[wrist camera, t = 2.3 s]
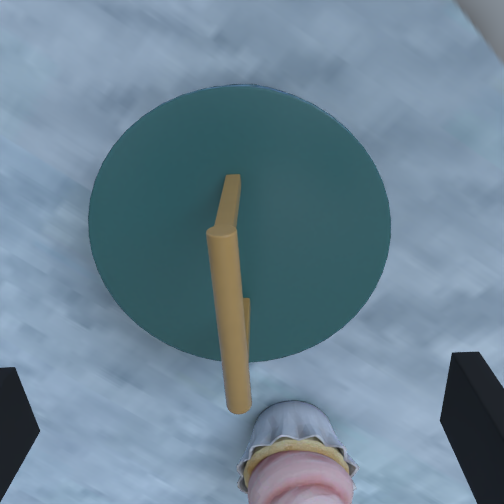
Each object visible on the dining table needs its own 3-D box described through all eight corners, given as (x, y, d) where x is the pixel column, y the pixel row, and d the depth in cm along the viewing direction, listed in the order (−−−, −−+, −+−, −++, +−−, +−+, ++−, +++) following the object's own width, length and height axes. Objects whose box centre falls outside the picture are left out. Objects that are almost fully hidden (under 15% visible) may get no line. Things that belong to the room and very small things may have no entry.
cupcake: (356, 453, 38) (386, 581, 29) (254, 470, 40) (252, 598, 31) (337, 374, 34) (365, 494, 25) (224, 396, 36) (212, 518, 27)
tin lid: (126, 354, 28) (73, 481, 20) (62, 94, 21) (-57, 132, 13) (375, 344, 27) (423, 472, 19) (397, 72, 20) (485, 98, 12)
